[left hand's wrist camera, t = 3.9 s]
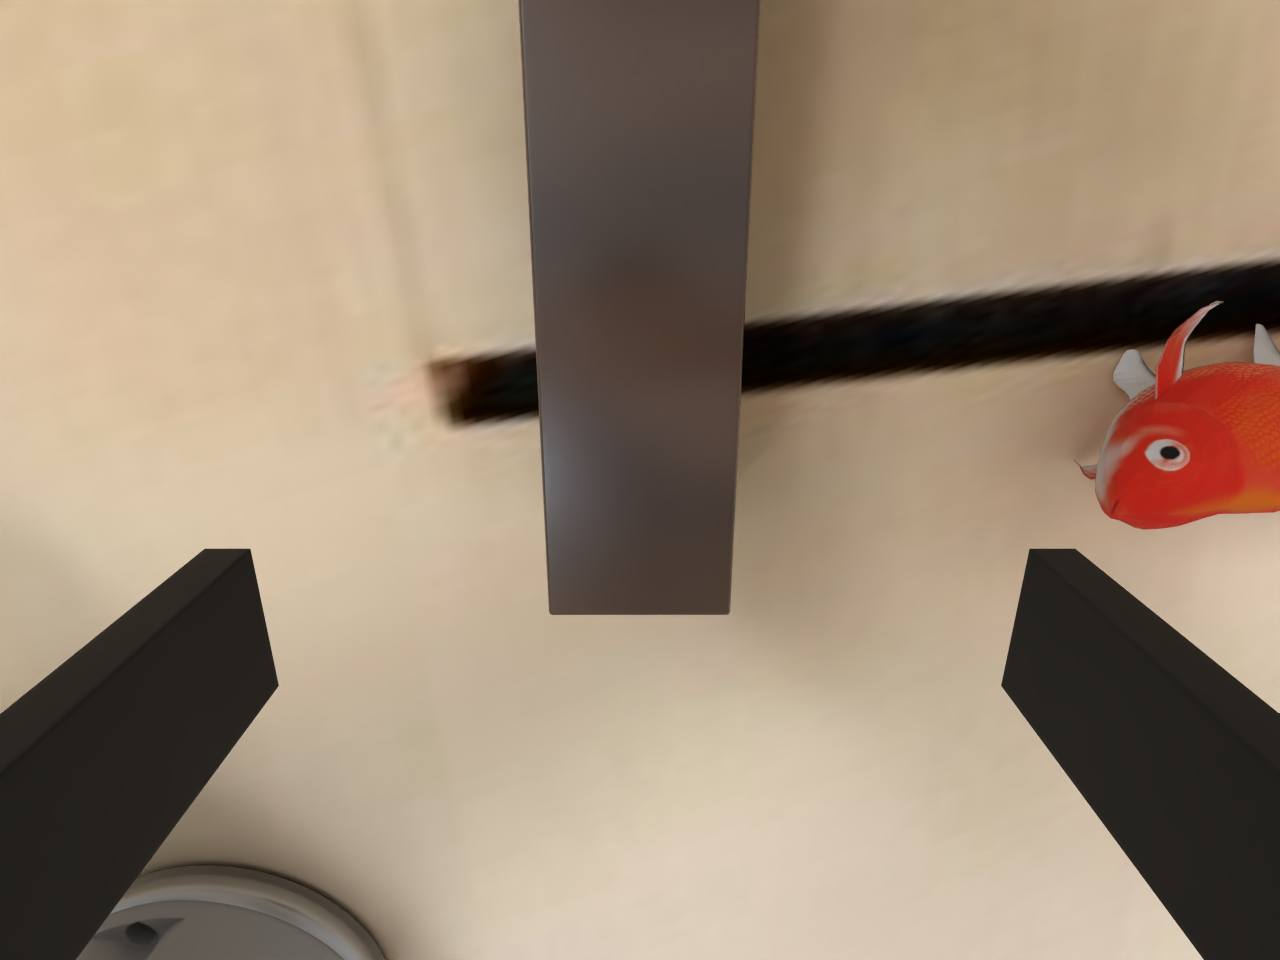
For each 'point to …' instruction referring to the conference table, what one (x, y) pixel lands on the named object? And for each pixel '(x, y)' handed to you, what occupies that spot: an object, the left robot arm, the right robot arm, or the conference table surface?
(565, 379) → the walnut box
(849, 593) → the conference table surface
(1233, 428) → the fish
